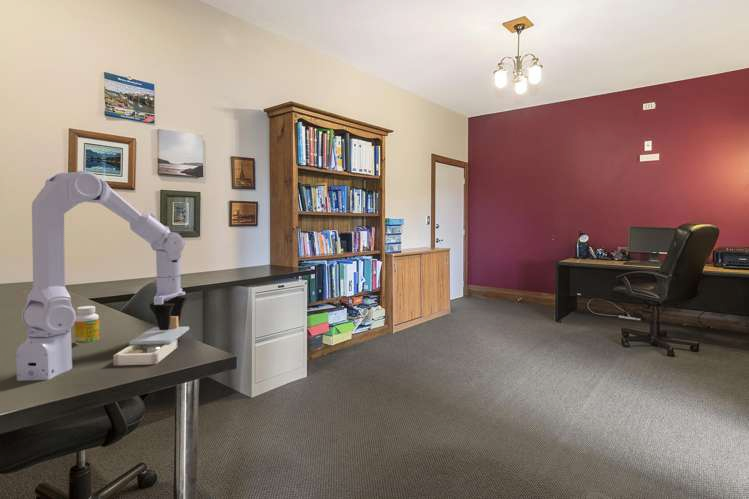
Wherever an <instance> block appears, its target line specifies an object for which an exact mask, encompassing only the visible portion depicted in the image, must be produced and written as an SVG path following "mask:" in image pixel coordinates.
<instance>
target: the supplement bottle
mask: <svg viewBox="0 0 749 499" xmlns="http://www.w3.org/2000/svg"><path fill="white" fill-rule="evenodd" d="M76 312H77V313H76V314H77V315H76V321H75V323H74V343H75V345H77V346H79V345H82V344H83V343H85V344H86V343H91V342H95V341H96V342H97V341H98V340H100V318H99V317H100V316H99V314H97V313H96V306H95V305H84V306H78V307H77V309H76Z"/></svg>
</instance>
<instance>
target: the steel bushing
mask: <svg viewBox="0 0 749 499" xmlns="http://www.w3.org/2000/svg"><path fill="white" fill-rule="evenodd" d="M158 349H160V346H150V347H148V348H147V353H154V352H155V351H157V350H158Z"/></svg>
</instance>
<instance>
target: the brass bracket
mask: <svg viewBox="0 0 749 499" xmlns="http://www.w3.org/2000/svg"><path fill="white" fill-rule="evenodd" d="M139 353H143V350H130V351H128V352H126V353H125V354H139Z"/></svg>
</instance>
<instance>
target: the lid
mask: <svg viewBox="0 0 749 499" xmlns="http://www.w3.org/2000/svg"><path fill="white" fill-rule="evenodd" d="M179 323H180V322H179ZM179 323H178V316H171V317H170V326H169V329H168V330H160V329H159V327H157V326H154V327H151V328H150V329H148V330H146V331H144V332H143V333H141V334H140V335H137V336H136V337H134V338H132V339H131V340H129V343H128V344H129V345H132V344H167V343H172V342H173V341H174V340H176V339H177V338H178V339H179V338H180V337H181V336H182V335H184V334H185V333H186V332H189V330H190V326H180V325H179Z"/></svg>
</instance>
